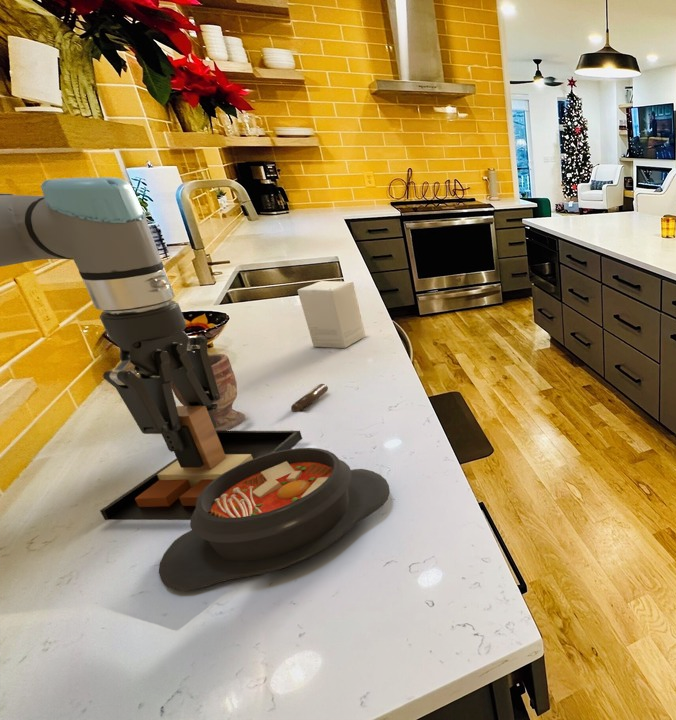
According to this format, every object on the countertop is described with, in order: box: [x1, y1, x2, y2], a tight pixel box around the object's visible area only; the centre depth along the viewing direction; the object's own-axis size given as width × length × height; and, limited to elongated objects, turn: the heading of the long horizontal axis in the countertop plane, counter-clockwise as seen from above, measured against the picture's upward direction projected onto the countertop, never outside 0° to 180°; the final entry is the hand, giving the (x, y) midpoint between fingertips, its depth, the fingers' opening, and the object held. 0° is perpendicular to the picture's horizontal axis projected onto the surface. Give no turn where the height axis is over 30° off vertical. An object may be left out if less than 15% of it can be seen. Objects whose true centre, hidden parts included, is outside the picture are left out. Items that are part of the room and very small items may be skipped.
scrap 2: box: [179, 479, 215, 506], centre depth 70 cm, size 4×4×2 cm
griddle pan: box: [99, 383, 329, 521], centre depth 84 cm, size 14×39×3 cm, turn 0°
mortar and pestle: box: [170, 353, 246, 431], centre depth 85 cm, size 12×9×20 cm
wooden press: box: [157, 405, 253, 488], centre depth 72 cm, size 10×5×11 cm, turn 91°
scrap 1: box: [135, 480, 191, 507], centre depth 70 cm, size 4×4×2 cm
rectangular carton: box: [296, 280, 367, 349], centre depth 126 cm, size 9×9×15 cm
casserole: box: [158, 447, 390, 591], centre depth 64 cm, size 25×19×8 cm
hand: (202, 458), depth 73 cm, fingers closed on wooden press, 3 cm apart
